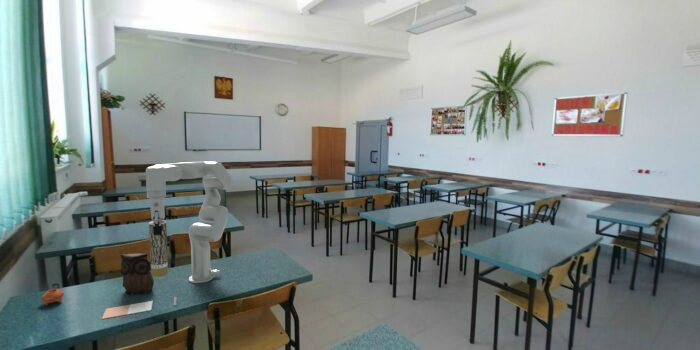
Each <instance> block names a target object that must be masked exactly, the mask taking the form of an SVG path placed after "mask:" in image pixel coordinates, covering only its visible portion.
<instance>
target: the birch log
mask: <svg viewBox="0 0 700 350" xmlns="http://www.w3.org/2000/svg"><path fill="white" fill-rule="evenodd" d="M153 226H154V222H153V220H152V221H149V222H148V230H149V231H148V232H149V254H150V255H149V256H150V265H151V271H150V272H151V275H152V277H153V278H159V277H165V276H166V275H168V274H169V260H168V259H169V258H168V256H169V255H168V235H167V234H168V233H167V232H168V231H167V230H168V229H167V220H165V219H162V220H161V226H162V234H161V235H153Z"/></svg>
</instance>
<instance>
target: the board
mask: <svg viewBox="0 0 700 350" xmlns="http://www.w3.org/2000/svg"><path fill="white" fill-rule="evenodd" d="M153 302H154V301H153V300H148V301H143V302H138V303H131V304H126V305H120V306H115V307H109V308H106V309H105V310H104V313H103V316H102V318H101V320H106V319H111V318H116V317H122V316H127V315H133V314H138V313H143V312H149V311H152V307H153ZM176 306H177V296H174V297H173V307H176Z"/></svg>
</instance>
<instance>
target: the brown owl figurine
mask: <svg viewBox="0 0 700 350" xmlns="http://www.w3.org/2000/svg"><path fill="white" fill-rule="evenodd" d="M120 257H121V262H120V266H121V267H120V274H121V275H122V287H123V288H124V289H125V291H124V294H125V295H129V296H131V295H133V296H134V295H144V294H148V293H151V292H153V291H154V290H153V287H154V283H155V280H154V277H153V276H152V275H151V261H150V259H149V257H148V254H147V253H130V254H129V253H128V254H124V253H121V254H120Z"/></svg>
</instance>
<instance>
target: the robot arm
mask: <svg viewBox="0 0 700 350" xmlns="http://www.w3.org/2000/svg"><path fill="white" fill-rule="evenodd" d="M198 178H202V185H203V188H204V189H203V190H204V191H205V192H204V193H205V198H204V200H203V203H202V205H201V207H200V210H199V212H198V219H199V220H200V221H202V222H194V223H192V224H191V225H190V226H189V227H188V231H187V232H188V237H189V242H190V251H191V252H190V254H191V255H190V256H191V257H190V259H191V260H190V261H191V262H190V263H191V275H190V276H189V277H188V281H189V283H192V284H204V283H207V282H210V281H212V280H213V279H214V278H215V275H218V274H220V273H221V270H219V269H216V268H215V269H212V267H211V245H210V242H211V243H212V242H213V243H215V242H218V241H219V240H220V239H221V237H222V236H223V233H224V230H225V227H226V225H227V222H228V219H229V209H228V208H227V207H226V206H224V205H221V204H220V203H221V200H222V198H221V194H220V192H219V190H228V189H231V188H232V186H233V178H232V176H231V174H230V173H229V172H228V170H227V169H226V168H225V166H224V165H223V164H222V163H220V162H218V161H207V160H204V161H190V162H188V161H187V162H186V161H185V162H176V163H175V162H174V163H157V164H154V165H151V166H148V167H146V168H145V184H146V198H147V199H149V207H150V216H151V220H152V221H153V222H154V226H153V235H161V234H162V226H161V220H165V217H166V214H165V211H166V210H165V198H166V197H167V183H166V182H176V181H179V180H180V179H182V180H187V179H188V180H191V179H198Z"/></svg>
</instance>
